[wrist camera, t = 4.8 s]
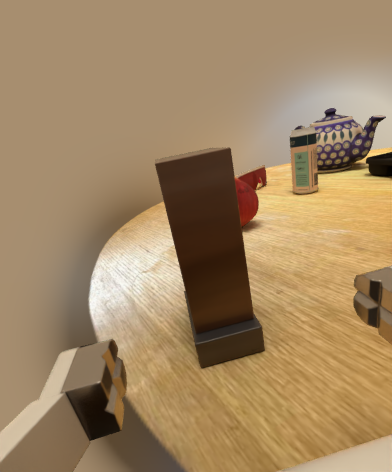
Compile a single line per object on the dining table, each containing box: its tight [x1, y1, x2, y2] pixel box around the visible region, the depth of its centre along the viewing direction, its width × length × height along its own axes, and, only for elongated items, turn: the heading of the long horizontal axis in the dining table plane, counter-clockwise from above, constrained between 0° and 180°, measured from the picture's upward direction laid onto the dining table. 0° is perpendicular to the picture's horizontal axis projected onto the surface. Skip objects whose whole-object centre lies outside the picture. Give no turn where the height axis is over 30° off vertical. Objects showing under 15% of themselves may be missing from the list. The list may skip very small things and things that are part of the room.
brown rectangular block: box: [155, 148, 265, 368], centre depth 17 cm, size 6×4×13 cm
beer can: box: [290, 127, 318, 194], centre depth 50 cm, size 5×5×12 cm
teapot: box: [295, 108, 386, 173], centre depth 66 cm, size 25×15×15 cm, turn 27°
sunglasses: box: [236, 165, 267, 190], centre depth 68 cm, size 17×17×5 cm
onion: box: [234, 176, 259, 227], centre depth 38 cm, size 6×6×8 cm
